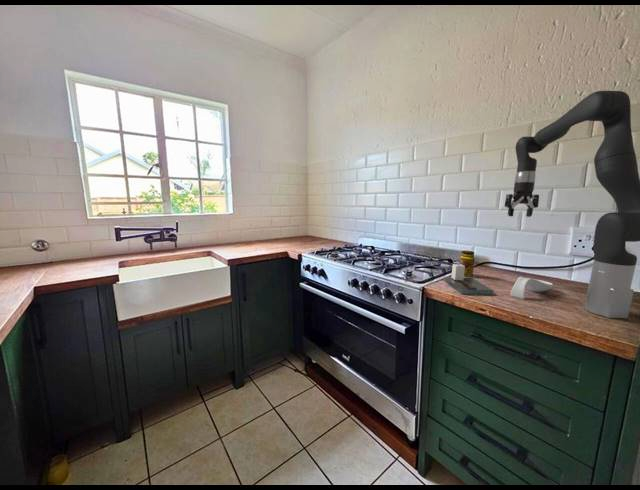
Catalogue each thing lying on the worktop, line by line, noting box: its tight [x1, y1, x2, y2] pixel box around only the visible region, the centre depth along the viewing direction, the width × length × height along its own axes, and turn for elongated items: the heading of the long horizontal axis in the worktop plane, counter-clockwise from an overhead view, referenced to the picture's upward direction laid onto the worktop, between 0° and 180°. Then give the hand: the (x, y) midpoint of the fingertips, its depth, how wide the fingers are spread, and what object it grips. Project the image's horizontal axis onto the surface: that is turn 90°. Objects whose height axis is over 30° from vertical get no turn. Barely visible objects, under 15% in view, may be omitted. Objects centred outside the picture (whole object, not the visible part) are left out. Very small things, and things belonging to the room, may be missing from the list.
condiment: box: [459, 250, 476, 279], centre depth 131 cm, size 7×8×12 cm
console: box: [444, 275, 495, 296], centre depth 113 cm, size 16×12×3 cm
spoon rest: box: [509, 276, 554, 300], centre depth 108 cm, size 24×12×7 cm, turn 126°
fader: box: [450, 263, 465, 280], centre depth 117 cm, size 3×4×6 cm
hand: (519, 216), depth 129 cm, fingers open, 8 cm apart
